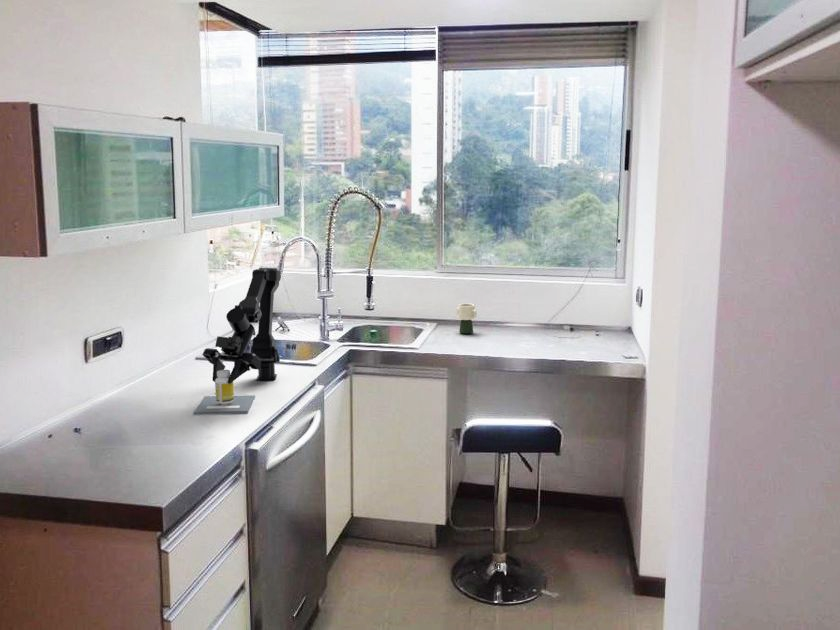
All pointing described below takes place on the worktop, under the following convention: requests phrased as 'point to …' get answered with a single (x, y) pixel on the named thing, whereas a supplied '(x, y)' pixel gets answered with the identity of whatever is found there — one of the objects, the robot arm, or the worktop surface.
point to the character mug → (466, 317)
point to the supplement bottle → (224, 387)
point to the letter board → (225, 405)
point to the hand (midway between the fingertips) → (221, 382)
